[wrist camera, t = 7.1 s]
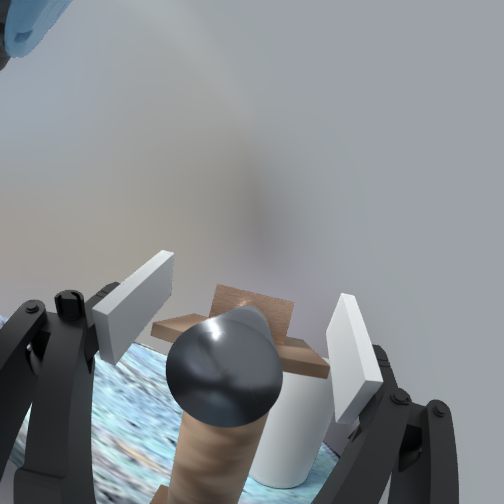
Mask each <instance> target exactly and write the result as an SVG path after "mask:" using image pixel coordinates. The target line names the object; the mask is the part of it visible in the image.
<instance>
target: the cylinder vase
mask: <svg viewBox="0 0 504 504" xmlns="http://www.w3.org/2000/svg"><path fill="white" fill-rule="evenodd" d="M321 358H322V357H321ZM323 359H324V360H325V361H326V362H327V363H328V364H329V365H330V360H329V359H326V358H323ZM334 410H335V405H334V395H333V385H332V376H331V368H330V371H329V375H328V378H327V379H322V378H316V377H310V376H304V375H298V374H292V373H287V372H283V384H282V389H281V392H280V395H279V397H278V399H277V401H276V403H275V404H274V405H273V407H272V408H271V409H270V411H269V414H268V418H267V421H266V424H265V427H264V430H263V433H262V436H261V439H260V442H259V445H258V448H257V451H256V454H255V457H254V460H253V463H252V466H251V469H250V471H249V475H250V477H252V478H253V479H254V480H255V481H257V482H259V483H261V484H263V485H266V486H269V487H274V488H292V487H295V486H298V485H300V484H302V483H303V482H304V481H305V480H306V478H307V476H308V474H309V472H310V470H311V467H312V465H313V463H314V461H315V458H316V456H317V454H318V451H319V449H320V447H321V444H322V442H323V439H324V437H325V434H326V431H327V429H328V426H329V424H330V421H331V418H332V415H333V413H334Z"/></svg>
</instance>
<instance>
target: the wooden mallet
mask: <svg viewBox="0 0 504 504" xmlns="http://www.w3.org/2000/svg"><path fill="white" fill-rule="evenodd" d="M293 306H294V302H290V301H286V300H282V299H278V298H273V297H269V296H265V295H261V294H256V293H252V292H248V291H244V290H240V289H236V288H232V287H228V286H224V285H220V284H217V286H216V290H215V294H214V299H213V303H212V307H211V311H210V315H209V319H208V320H205V321H203V322H200V323H198V324H196V325H194V326H192V327H190V328H189V329H187V330H186V331H184V332H183V333H182V334H181V335H180V336H179V337H178V338H177V339H176V341H175V342H174V344H173V345H172V347H171V349H170V351H169V353H168V357H167V361H166V379H167V383H168V387H169V389H170V392H171V394H172V396H173V397H174V399H175V401H176V402H177V403H178V405H179V406H180V407H181V408H182V409H183V410H184V411H185V412H186V413H188V414H189V415H190V416H192V417H193V418H195V419H196V420H198V421H201V422H203V423H205V424H208V425H211V426H216V427H224V428H230V427H239V426H243V425H247V424H250V423H252V422H254V421H256V420H258V419H260V418H261V417H262V416H264V415H265V414H266V413H267V412H268V411H269V410H270V409H271V408H272V407H273V405H274V404H275V403H276V401H277V399H278V397H279V395H280V392H281V389H282V384H283V369H282V364H281V360H280V358H279V355H278V352H277V349H276V346H275V344H278V345H282V346H284V342H285V338H286V334H287V330H288V326H289V322H290V318H291V314H292V310H293Z"/></svg>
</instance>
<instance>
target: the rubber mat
mask: <svg viewBox="0 0 504 504" xmlns="http://www.w3.org/2000/svg"><path fill="white" fill-rule="evenodd" d="M18 468H19V467H17V466H16V465H15V464H14V463H13V462H12V461H11V460H10V459H9V458H8V461H7V464H6V467H5V470H4V473H3V477H2V479H1V482H0V504H14V502H13V481H14V474H15V471H16V470H17V469H18Z"/></svg>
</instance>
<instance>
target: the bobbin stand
mask: <svg viewBox="0 0 504 504" xmlns="http://www.w3.org/2000/svg"><path fill="white" fill-rule="evenodd" d="M208 319H209V318H208V317H204V316H201V315H197V314H190V315H186V316H181V317H177V318H172V319H168V320H163V321H158V322H154V323H153V326H152V331H151V336H154V337H156V338H159V339H162V340H165V341H168V342H171V343H174V342H175V341H176V339H177V338H178V337H179V336H180V335H181V334H182V333H183V332H184V331H186V330H187V329H189V328H190V327H192V326H194V325H196V324H198V323H200V322H203V321H205V320H208ZM275 346H276V349H277V352H278V355H279V358H280V360H281V364H282V369H283V372H287V373H292V374H298V375H304V376H310V377H316V378H322V379H327V378H328V375H329V371H330V365H329V364H328V363H327V362H326V361H325V360H324V359H323V358H321V357H320V356H319V355H318V354H317V353H316V352H315V351H314V350H313V349H312V348H311V347H310V346H309V345H308V344H307V343H306V342H304V341H303V340H301V339H296V338H291V337H286V338H285V342H284V346H282V345H278V344H275ZM269 411H270V410H269ZM269 411H268V412H267V413H266V414H265V415H264V416H262V417H261V418H260V419H258V420H256V421H254V422H252V423H250V424H247V425H243V426H239V427H230V428H224V427H216V426H211V425H208V424H205V423H203V422H201V421H198V420H196V419H195V418H193V417H192V416H190V415H189V414H188V413H186V412H185V411H184V412H183V416H182V421H181V426H180V431H179V436H178V442H177V447H176V452H175V457H174V463H173V468H172V474H171V479H170V485H169V487H167V486H164V485H160V487H159V489H158V490H157V492H156V494H155V495H154V497H153V499H152V501H151V502H150V504H237V503H238V501H239V498H240V496H241V493H242V490H243V488H244V485H245V482H246V480H247V477H248V474H249V471H250V469H251V466H252V463H253V460H254V457H255V454H256V451H257V448H258V445H259V442H260V439H261V436H262V433H263V430H264V427H265V424H266V421H267V418H268V414H269Z"/></svg>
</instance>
